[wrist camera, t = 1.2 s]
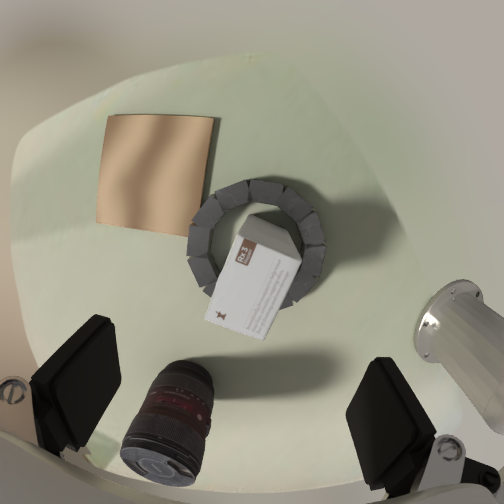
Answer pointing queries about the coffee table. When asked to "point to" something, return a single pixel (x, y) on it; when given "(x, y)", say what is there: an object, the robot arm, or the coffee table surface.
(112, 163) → the pad
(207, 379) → the camera lens
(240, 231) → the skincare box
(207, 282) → the collar
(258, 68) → the coffee table surface
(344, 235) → the coffee table surface
